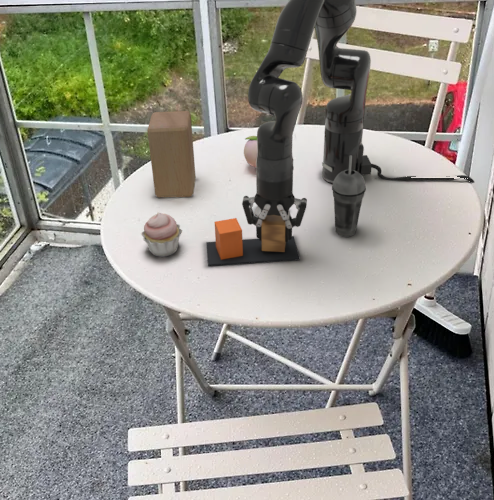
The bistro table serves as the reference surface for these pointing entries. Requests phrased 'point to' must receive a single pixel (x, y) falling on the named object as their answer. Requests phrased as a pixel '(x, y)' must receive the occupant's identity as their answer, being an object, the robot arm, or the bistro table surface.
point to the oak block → (273, 234)
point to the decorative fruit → (251, 150)
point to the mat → (253, 253)
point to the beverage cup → (347, 200)
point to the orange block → (228, 238)
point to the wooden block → (172, 153)
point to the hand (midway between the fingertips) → (274, 239)
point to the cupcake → (161, 234)
